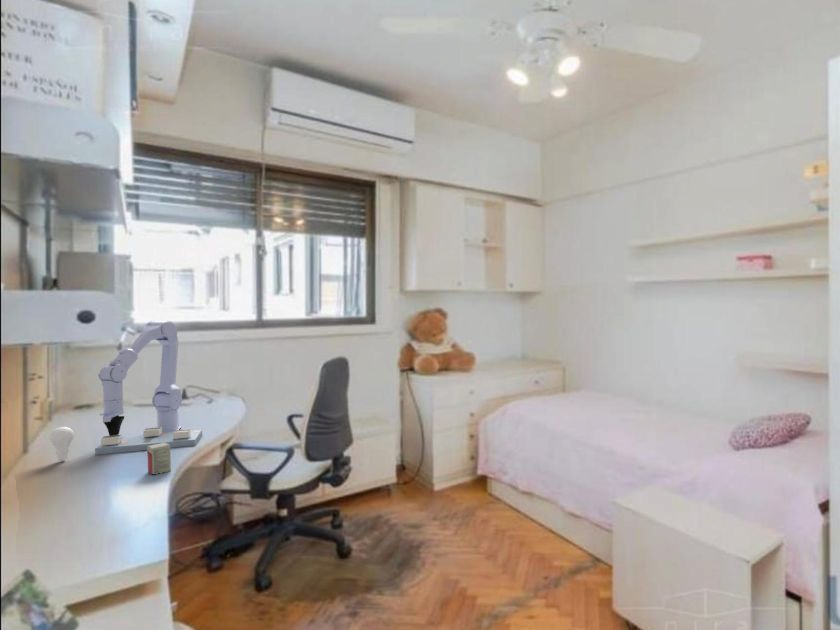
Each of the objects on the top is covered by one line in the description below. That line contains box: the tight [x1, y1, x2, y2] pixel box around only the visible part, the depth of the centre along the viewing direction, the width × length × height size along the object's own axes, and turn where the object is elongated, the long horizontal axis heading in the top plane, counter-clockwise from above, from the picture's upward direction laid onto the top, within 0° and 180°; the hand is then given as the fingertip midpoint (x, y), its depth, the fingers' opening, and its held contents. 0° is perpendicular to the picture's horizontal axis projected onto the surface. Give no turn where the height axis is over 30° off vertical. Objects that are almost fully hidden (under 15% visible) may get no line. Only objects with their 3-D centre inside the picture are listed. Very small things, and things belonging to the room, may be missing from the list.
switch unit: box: [94, 429, 203, 456], centre depth 166 cm, size 15×30×2 cm, turn 107°
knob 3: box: [173, 428, 192, 439], centre depth 166 cm, size 4×5×2 cm
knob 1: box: [100, 434, 123, 446], centre depth 160 cm, size 4×5×2 cm
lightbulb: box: [49, 426, 75, 462], centre depth 148 cm, size 6×6×11 cm
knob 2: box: [143, 426, 162, 437], centre depth 170 cm, size 4×5×2 cm
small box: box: [146, 443, 172, 475], centre depth 136 cm, size 5×4×8 cm
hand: (114, 438), depth 162 cm, fingers closed
